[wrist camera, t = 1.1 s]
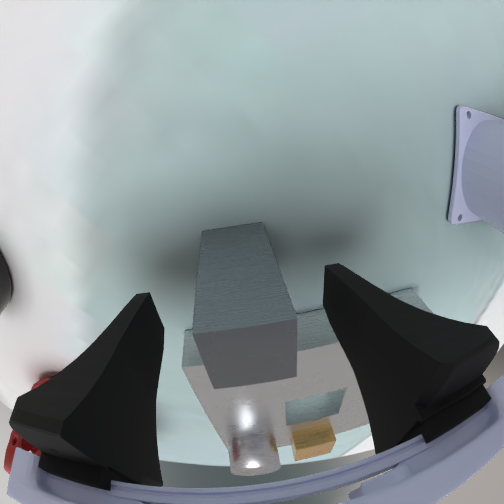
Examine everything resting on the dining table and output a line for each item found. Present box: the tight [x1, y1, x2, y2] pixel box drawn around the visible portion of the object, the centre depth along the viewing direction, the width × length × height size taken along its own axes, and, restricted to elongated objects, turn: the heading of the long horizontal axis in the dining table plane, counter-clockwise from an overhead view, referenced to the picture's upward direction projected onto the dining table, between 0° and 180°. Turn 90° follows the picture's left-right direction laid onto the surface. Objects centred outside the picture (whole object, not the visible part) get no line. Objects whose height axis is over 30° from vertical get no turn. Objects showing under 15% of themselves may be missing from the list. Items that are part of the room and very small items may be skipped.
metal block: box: [192, 222, 297, 389], centre depth 11 cm, size 3×3×7 cm
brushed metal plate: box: [182, 288, 432, 476], centre depth 18 cm, size 16×16×6 cm
